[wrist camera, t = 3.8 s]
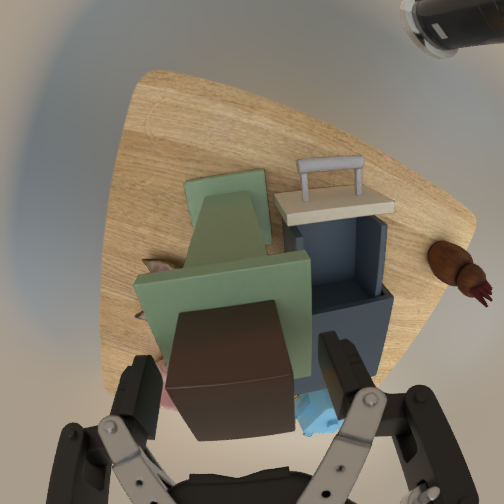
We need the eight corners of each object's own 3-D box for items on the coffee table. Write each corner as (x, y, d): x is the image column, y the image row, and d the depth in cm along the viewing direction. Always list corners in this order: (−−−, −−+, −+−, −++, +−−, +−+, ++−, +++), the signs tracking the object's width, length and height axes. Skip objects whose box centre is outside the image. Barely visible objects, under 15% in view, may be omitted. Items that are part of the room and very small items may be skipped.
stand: (185, 180, 31) (119, 277, 12) (262, 168, 32) (321, 246, 12) (200, 249, 35) (175, 397, 16) (270, 239, 35) (319, 379, 16)
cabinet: (276, 274, 38) (289, 319, 29) (362, 259, 38) (394, 297, 29) (282, 349, 44) (293, 395, 35) (354, 334, 44) (375, 375, 36)
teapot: (323, 411, 55) (333, 447, 46) (267, 407, 52) (273, 448, 42) (369, 360, 48) (389, 399, 39) (309, 350, 45) (325, 397, 36)
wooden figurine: (417, 266, 40) (473, 321, 26) (429, 233, 37) (493, 282, 24) (443, 268, 40) (496, 318, 27) (454, 238, 38) (514, 282, 25)
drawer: (269, 157, 30) (281, 167, 23) (361, 149, 30) (395, 159, 23) (282, 291, 38) (294, 328, 31) (360, 277, 38) (384, 309, 31)
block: (178, 311, 13) (163, 388, 9) (274, 298, 13) (294, 374, 9) (201, 373, 15) (197, 441, 11) (281, 363, 15) (295, 431, 11)
